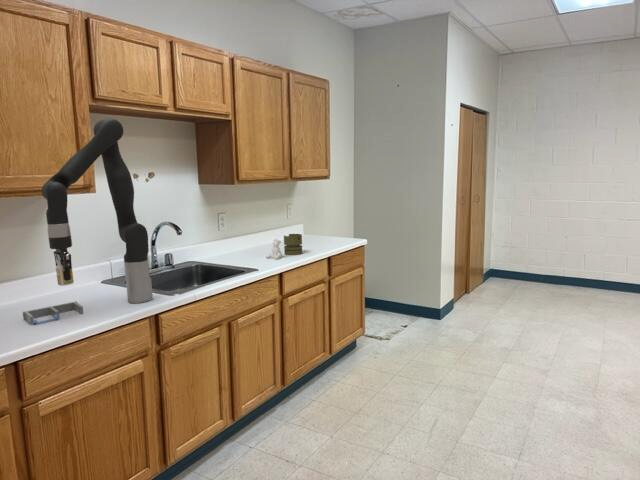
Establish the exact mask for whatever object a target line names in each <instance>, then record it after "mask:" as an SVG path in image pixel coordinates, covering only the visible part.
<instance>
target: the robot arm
mask: <svg viewBox="0 0 640 480" xmlns="http://www.w3.org/2000/svg"><path fill="white" fill-rule="evenodd" d="M93 134H94V136H93V137H92V138H91V139H90V140H89V141H88V142H87V143H86V144H85V145H84V146H83V147H82V148H80V149H79V150H78V151H77V152H76V153H74V154H73V155H72V156H71V157H70V158H69V159H68V160H67V161H66V163H65V164H63V166H62V167H61V168H60V169H59V170H58V171H57V172H56V173H55V174H54V175H53V176H51V177H50V178H49V179H48V180H47V181H46V182H45V183H44V184H43V186H42V187H41V195H42V197H43V198H44V199H45V200H47V201H46V202H47V204H46V205H47V209H46V211H45V213H46V224H47V236H48V245H49V249H51V250H55V251H53V257H54V262H55V267H56V266H57V265H58V264H57V260H58V259H59V263H60V265H61V266H62V270H63V275H64V280H65V281H67V280H71V275H70V270H71V269H72V270H73V263H72V255H71V253H70V252H68V248H71V247H73V241H72V232H71V227H70V222H69V216H68V215H69V213H68V192H67V191H68V188H70V187H71V186H72V185H73V184H75V183H77V182H78V181H79V180H80V179H81V177H82V176H83V175H84V174H85V173H86V172H87V171H88V170H89V169H90V167H92V165H93V164H94V163H95V161H97V159H98V158H100V156H101V158H102V163H103V168H104V171H105V178H106V182H107V185H108V189H109V193H110V196H111V197H110V198H111V200H112V204H113V208H114V210H115V215H116V220H117V228H118V235H119V238H120V239H121V240H122V242H124V243H125V253H124V255H123V262H124V264H123V265H124V275H125V284H126V285H125V286H126V297H127V298H126V299H127V302H128V303H130V304H139V303H140V304H141V303H145V302H149V301H150V300H153V298H154V297H153V286H152V285H153V284H152V278H151V276H150V273H149V259H148V255H149V251H150V249H149V234H148V230H147V228H146V227H145V226H144V225H143V224H141V223H138V219H137V218H136V214H135V210H134V209H135V207H134V201H135V189H134V188H135V187H134V183H133V179H132V175H131V172H130V170H129V168H128V167H127V164H126V163H125V160H124V159H123V157H122V155H121V152H120V148H119V141H120V140H121V139H122V137H123V135H124V127H123V125H122V123H121V122H120V121H119V120H117V119H114V118H104V119H101V120H98V121H97V122H96V123H95V124H94V127H93ZM66 265H68V266H67V267H66Z"/></svg>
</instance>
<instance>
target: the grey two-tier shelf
mask: <svg viewBox="0 0 640 480" xmlns="http://www.w3.org/2000/svg"><path fill="white" fill-rule="evenodd" d="M71 311H75V312H77V313H78V314H80V315H84V306H83V305H81V304H80V303H78V301H71V302H67V303H62V304H56V305H50V306H46V307H40V308H37V309H36V308H35V309H30V310H26V311H22V319H23V321H26V322H27V323H28V324H29V325H30V326H34V325H33V323H32V322H33V320H34V319H38V318H43V317H47V316H51V317H52V318H54V315H58V318H59V320H60V319H61V318H60V314H61V313H66V312H71Z"/></svg>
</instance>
